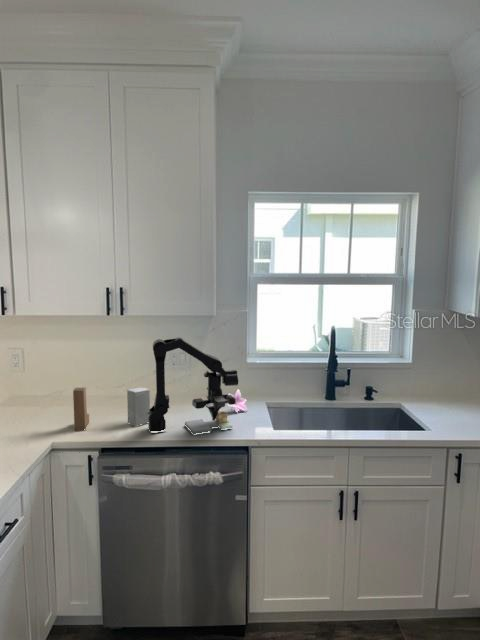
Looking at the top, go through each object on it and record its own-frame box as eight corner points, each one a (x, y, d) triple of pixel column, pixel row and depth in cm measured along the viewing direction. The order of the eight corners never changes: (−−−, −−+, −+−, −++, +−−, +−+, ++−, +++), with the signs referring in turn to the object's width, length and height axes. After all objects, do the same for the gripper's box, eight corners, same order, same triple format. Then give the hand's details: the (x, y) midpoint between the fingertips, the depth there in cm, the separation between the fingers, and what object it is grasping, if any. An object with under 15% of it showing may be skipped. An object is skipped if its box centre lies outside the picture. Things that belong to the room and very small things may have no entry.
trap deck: (193, 435, 185) (193, 431, 184) (184, 426, 195) (184, 421, 195) (232, 429, 192) (232, 425, 192) (221, 420, 203) (221, 416, 203)
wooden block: (79, 423, 196) (77, 384, 194) (89, 423, 197) (88, 384, 195) (74, 430, 188) (72, 390, 185) (85, 430, 188) (83, 390, 186)
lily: (223, 416, 211) (231, 402, 207) (219, 400, 221) (227, 386, 217) (245, 421, 215) (253, 407, 211) (240, 405, 225) (248, 391, 221)
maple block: (219, 423, 193) (219, 414, 193) (215, 420, 197) (215, 412, 197) (227, 422, 195) (227, 413, 195) (223, 419, 199) (223, 410, 198)
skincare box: (135, 427, 193) (134, 392, 190) (126, 423, 197) (125, 389, 195) (151, 422, 199) (150, 389, 197) (142, 418, 204) (142, 385, 201)
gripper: (200, 393, 181) (200, 429, 183) (241, 388, 189) (240, 423, 191) (192, 386, 191) (191, 420, 193) (230, 382, 199) (230, 415, 201)
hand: (213, 420), depth 194 cm, fingers closed
